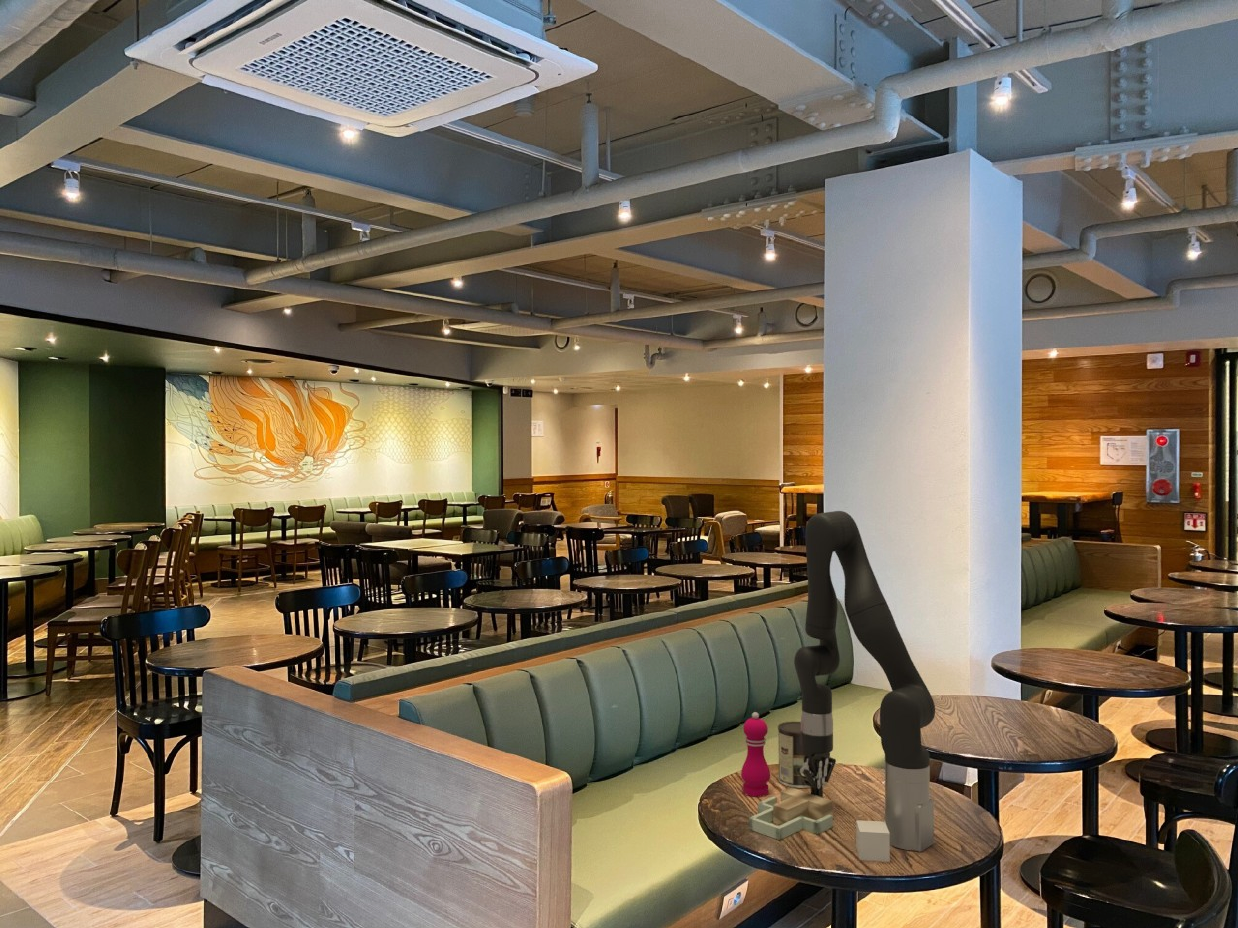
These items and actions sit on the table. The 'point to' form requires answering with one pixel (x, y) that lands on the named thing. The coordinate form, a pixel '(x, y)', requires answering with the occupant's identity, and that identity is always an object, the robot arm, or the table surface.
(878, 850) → the beige cube
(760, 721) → the pepper mill
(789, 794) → the t block
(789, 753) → the coffee can
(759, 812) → the t dock
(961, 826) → the table surface
